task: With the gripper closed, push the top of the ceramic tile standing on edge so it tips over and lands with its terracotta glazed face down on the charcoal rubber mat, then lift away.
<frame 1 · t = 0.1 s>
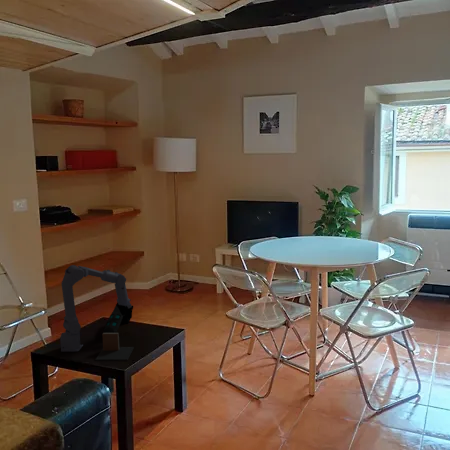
hand: (126, 316, 270), 10 cm above the table, tool pointing down, fingers open, 7 cm apart
tile: (111, 349, 249), point 1 cm above the table, touching mat
gun: (118, 330, 279), on the table
mat: (115, 354, 246), on the table
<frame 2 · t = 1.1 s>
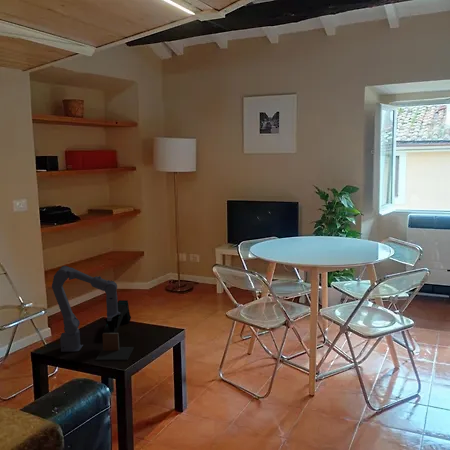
hand: (113, 329, 254), 9 cm above the table, tool pointing down, fingers open, 5 cm apart
nothing on the table moved.
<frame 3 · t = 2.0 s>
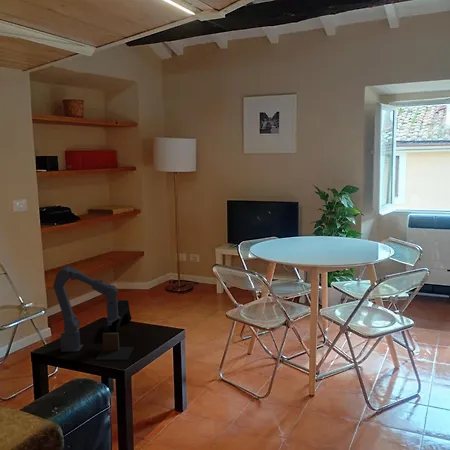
hand: (113, 333, 254), 7 cm above the table, tool pointing down, fingers closed
nothing on the table moved.
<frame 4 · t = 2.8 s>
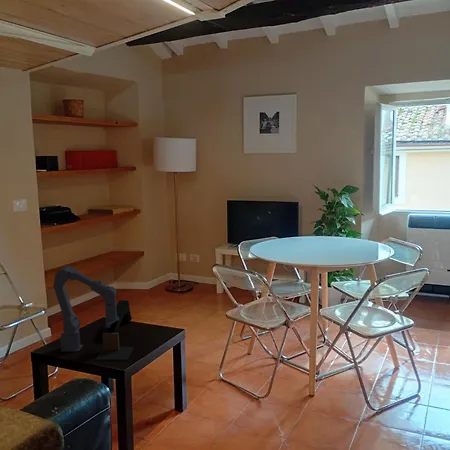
hand: (112, 335, 252), 7 cm above the table, tool pointing down, fingers closed
nothing on the table moved.
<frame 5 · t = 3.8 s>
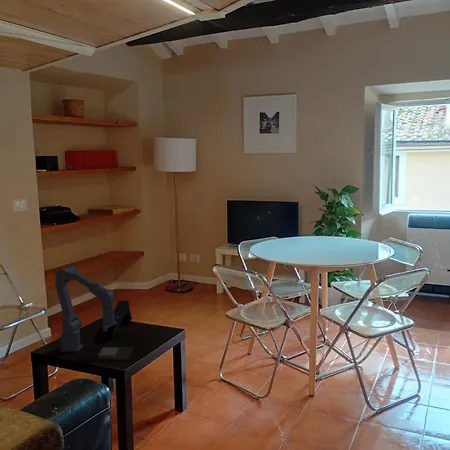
hand: (109, 339, 247), 7 cm above the table, tool pointing down, fingers closed
tile: (110, 349, 248), point 1 cm above the table, tilted 90°, touching mat
everything else where it was.
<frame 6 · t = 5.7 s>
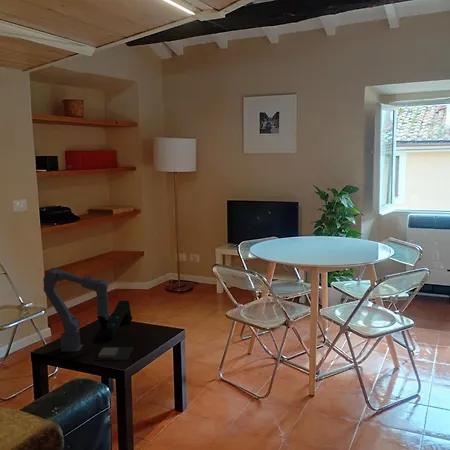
hand: (103, 329, 253), 10 cm above the table, tool pointing down, fingers closed
nothing on the table moved.
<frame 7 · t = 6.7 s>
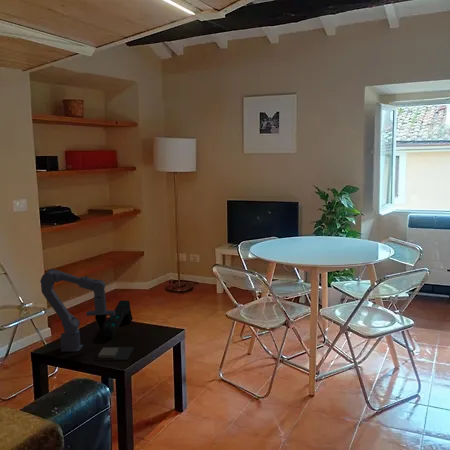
hand: (101, 328, 253), 10 cm above the table, tool pointing down, fingers closed
nothing on the table moved.
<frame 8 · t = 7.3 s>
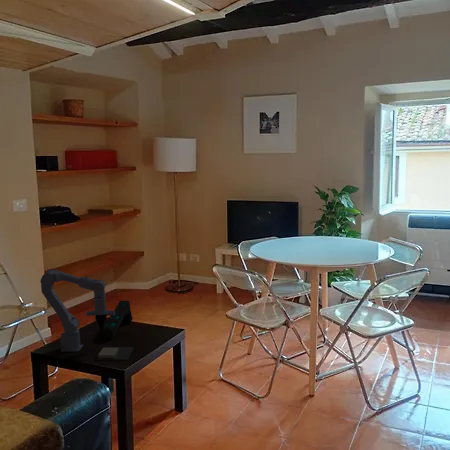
hand: (101, 328, 253), 10 cm above the table, tool pointing down, fingers closed
nothing on the table moved.
at the end: tile tilted 90°; tile inside the target area (2.0 cm from its centre), point 1.4 cm above the table; tile touching mat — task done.
